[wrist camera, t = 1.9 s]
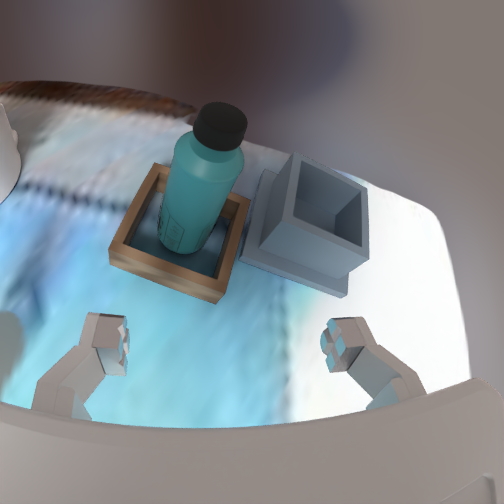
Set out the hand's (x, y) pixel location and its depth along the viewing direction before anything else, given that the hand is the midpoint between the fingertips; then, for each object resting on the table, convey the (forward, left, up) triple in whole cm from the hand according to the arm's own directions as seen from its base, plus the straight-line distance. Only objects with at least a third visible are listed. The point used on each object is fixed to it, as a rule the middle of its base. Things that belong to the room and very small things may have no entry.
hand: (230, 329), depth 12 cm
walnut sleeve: (-4, +16, -23) cm, 28 cm away
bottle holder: (+12, +24, -23) cm, 36 cm away
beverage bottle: (-4, +16, -23) cm, 29 cm away
